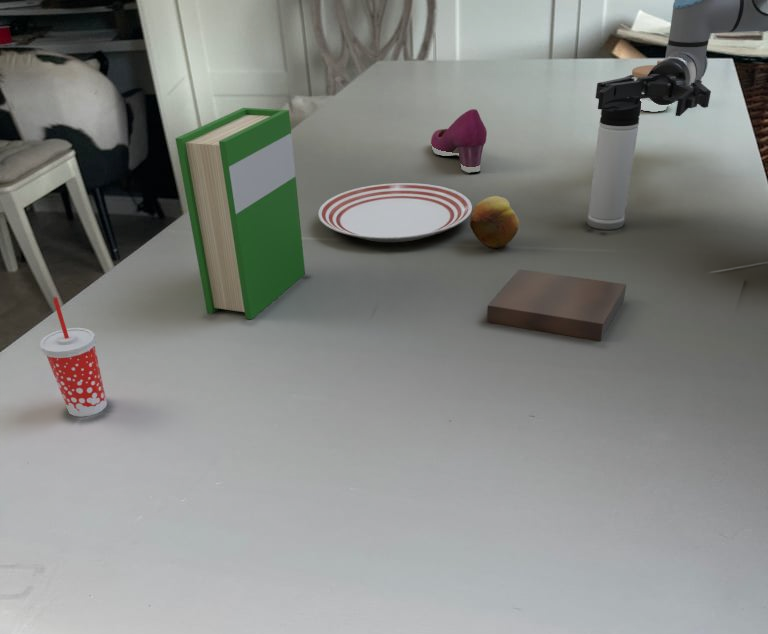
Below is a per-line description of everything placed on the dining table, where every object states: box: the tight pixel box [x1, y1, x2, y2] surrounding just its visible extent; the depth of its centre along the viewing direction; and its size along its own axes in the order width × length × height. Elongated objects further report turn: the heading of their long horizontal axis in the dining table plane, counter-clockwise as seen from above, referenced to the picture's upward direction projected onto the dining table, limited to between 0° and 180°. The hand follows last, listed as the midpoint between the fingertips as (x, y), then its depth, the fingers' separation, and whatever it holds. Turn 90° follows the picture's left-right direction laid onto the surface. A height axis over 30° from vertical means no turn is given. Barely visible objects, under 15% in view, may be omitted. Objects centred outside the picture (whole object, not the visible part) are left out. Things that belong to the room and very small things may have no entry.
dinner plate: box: [317, 182, 473, 243], centre depth 145 cm, size 28×27×3 cm
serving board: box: [486, 268, 627, 342], centre depth 114 cm, size 16×14×2 cm
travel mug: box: [586, 96, 642, 231], centre depth 136 cm, size 6×7×20 cm
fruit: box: [469, 195, 520, 249], centre depth 133 cm, size 8×8×8 cm
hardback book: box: [174, 107, 306, 320], centre depth 116 cm, size 18×7×24 cm, turn 158°
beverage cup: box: [39, 296, 108, 418], centre depth 94 cm, size 6×6×14 cm
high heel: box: [430, 108, 488, 174], centre depth 174 cm, size 9×26×12 cm, turn 18°
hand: (639, 104), depth 140 cm, fingers open, 13 cm apart
